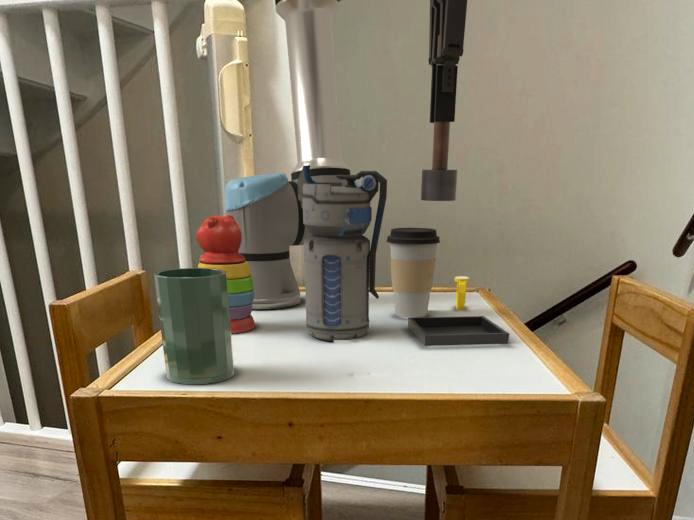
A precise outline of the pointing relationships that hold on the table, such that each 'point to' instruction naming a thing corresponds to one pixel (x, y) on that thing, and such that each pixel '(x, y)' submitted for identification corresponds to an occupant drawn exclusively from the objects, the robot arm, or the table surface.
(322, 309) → the grey grenade canister
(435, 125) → the brush
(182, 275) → the tumbler
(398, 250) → the coffee cup
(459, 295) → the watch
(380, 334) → the table surface
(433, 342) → the tray
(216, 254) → the stacking bear
